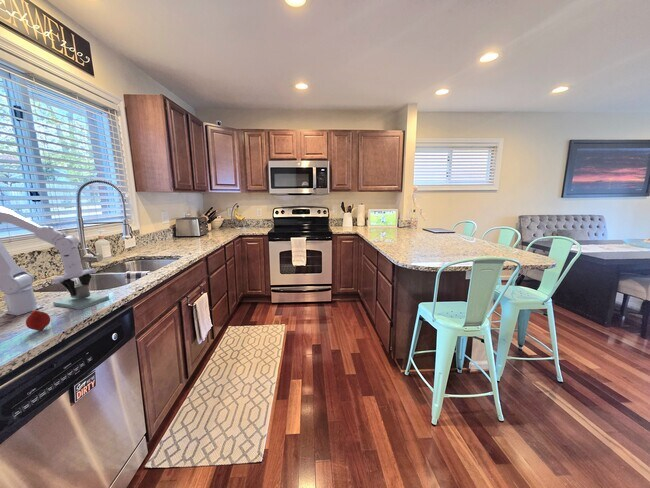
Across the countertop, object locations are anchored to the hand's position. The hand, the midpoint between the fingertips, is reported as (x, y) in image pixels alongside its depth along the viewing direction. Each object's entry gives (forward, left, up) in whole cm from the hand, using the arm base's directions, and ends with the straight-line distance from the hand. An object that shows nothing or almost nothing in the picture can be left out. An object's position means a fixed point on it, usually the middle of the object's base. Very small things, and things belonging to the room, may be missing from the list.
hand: (79, 293), depth 116 cm
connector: (-1, 0, -1) cm, 2 cm away
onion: (+15, -21, -4) cm, 26 cm away
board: (0, 0, -4) cm, 4 cm away
